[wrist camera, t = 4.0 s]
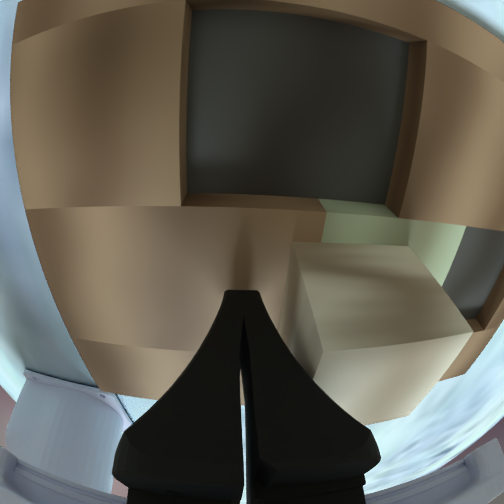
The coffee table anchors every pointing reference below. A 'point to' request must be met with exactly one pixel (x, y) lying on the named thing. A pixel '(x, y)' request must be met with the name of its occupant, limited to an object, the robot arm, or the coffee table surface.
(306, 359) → the block
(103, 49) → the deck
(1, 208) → the coffee table surface
